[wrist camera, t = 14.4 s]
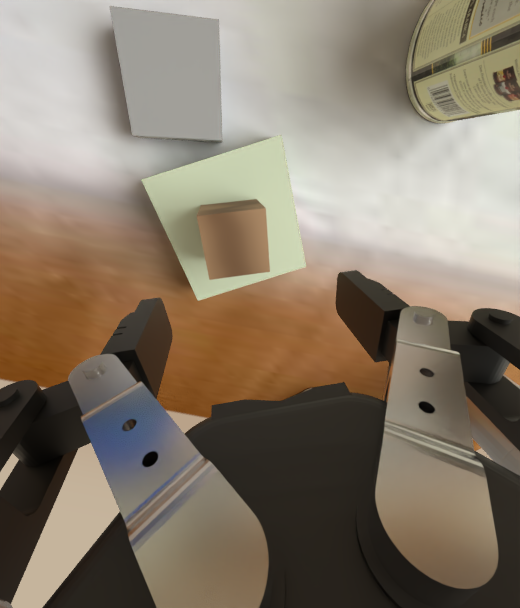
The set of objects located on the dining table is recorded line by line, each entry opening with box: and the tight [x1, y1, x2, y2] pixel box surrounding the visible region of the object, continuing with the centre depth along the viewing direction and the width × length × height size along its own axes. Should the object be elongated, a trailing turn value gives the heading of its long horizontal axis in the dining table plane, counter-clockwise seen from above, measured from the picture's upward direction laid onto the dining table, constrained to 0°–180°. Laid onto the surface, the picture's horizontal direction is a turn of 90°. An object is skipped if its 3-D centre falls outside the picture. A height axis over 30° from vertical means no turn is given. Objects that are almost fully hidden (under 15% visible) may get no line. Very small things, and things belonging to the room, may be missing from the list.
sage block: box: [141, 135, 306, 301], centre depth 25 cm, size 12×12×4 cm
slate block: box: [110, 6, 222, 142], centre depth 20 cm, size 7×7×3 cm
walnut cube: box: [197, 199, 270, 280], centre depth 22 cm, size 5×5×5 cm
